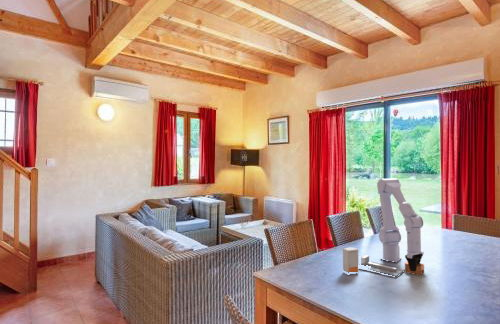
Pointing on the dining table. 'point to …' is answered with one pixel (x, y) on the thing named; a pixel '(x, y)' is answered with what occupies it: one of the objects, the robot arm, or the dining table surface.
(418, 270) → the lock block
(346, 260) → the skincare box
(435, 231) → the dining table surface
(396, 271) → the plate
